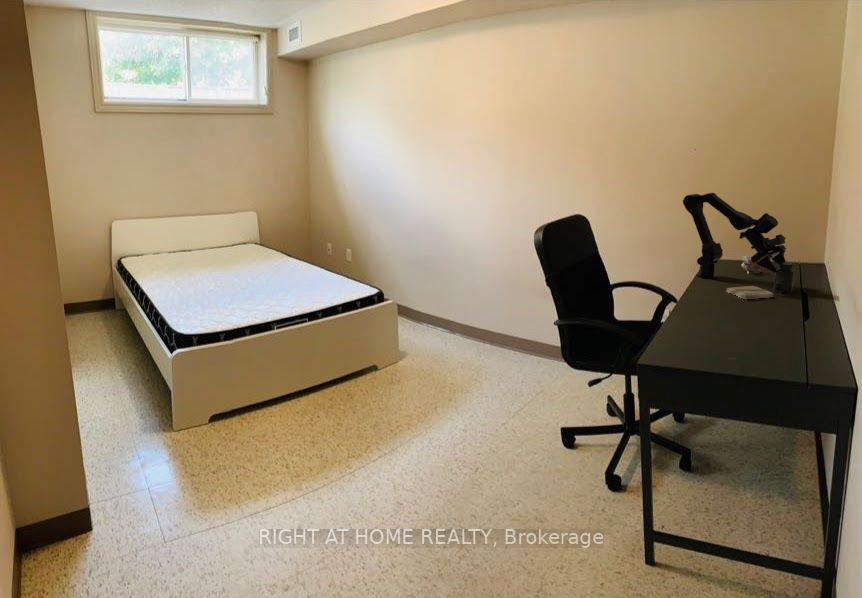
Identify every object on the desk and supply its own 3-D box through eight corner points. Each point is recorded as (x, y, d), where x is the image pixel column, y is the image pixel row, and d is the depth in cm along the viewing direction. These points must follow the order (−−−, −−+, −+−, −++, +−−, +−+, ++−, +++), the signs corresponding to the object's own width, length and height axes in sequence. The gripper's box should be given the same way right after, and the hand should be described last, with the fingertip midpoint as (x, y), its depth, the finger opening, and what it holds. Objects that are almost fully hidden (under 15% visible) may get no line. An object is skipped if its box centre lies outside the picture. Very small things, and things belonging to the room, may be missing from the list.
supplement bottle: (795, 293, 244) (799, 265, 241) (778, 294, 244) (782, 265, 241) (786, 289, 251) (790, 261, 247) (769, 289, 251) (773, 261, 248)
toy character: (757, 282, 278) (735, 271, 276) (752, 272, 284) (731, 261, 283) (773, 266, 271) (750, 255, 270) (768, 256, 278) (746, 245, 277)
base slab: (726, 292, 249) (726, 287, 249) (752, 290, 251) (753, 285, 250) (745, 300, 238) (745, 295, 237) (772, 298, 239) (773, 292, 239)
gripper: (761, 231, 241) (787, 262, 235) (783, 225, 251) (808, 255, 245) (740, 248, 249) (764, 278, 243) (762, 241, 259) (786, 270, 254)
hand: (781, 270), depth 246 cm, fingers open, 9 cm apart
